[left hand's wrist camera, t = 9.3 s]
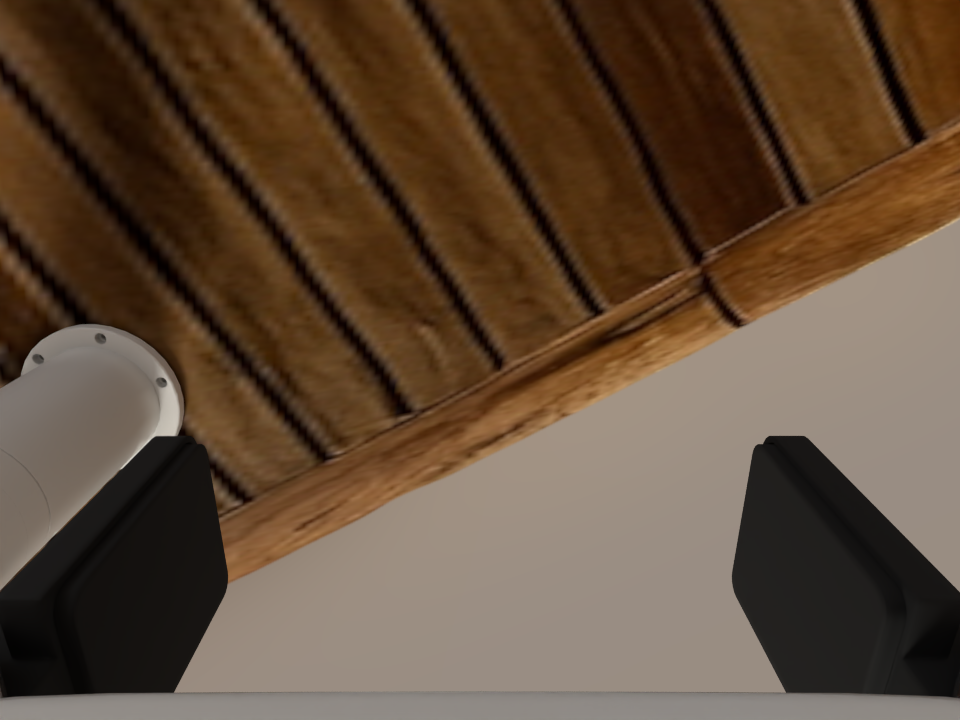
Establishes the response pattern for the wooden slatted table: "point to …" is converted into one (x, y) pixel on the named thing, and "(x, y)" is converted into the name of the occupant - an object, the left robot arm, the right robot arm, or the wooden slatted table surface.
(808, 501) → the left robot arm
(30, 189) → the wooden slatted table surface
